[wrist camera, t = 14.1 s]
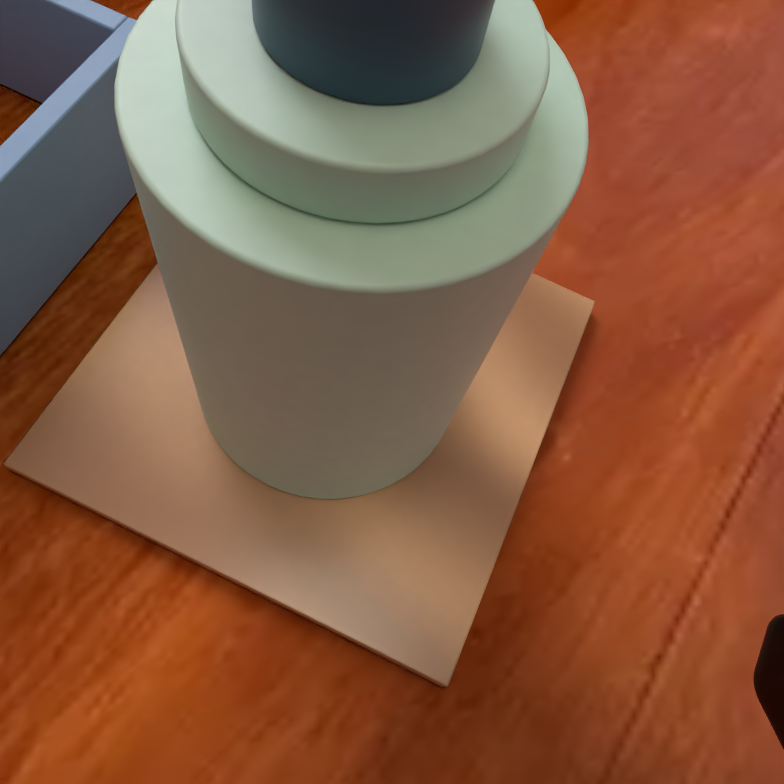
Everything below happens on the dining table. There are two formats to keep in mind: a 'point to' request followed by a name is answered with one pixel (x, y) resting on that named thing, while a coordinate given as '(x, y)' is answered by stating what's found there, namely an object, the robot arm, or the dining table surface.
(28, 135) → the open rectangular frame
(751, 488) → the dining table surface
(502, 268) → the water bottle
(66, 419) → the cork mat
